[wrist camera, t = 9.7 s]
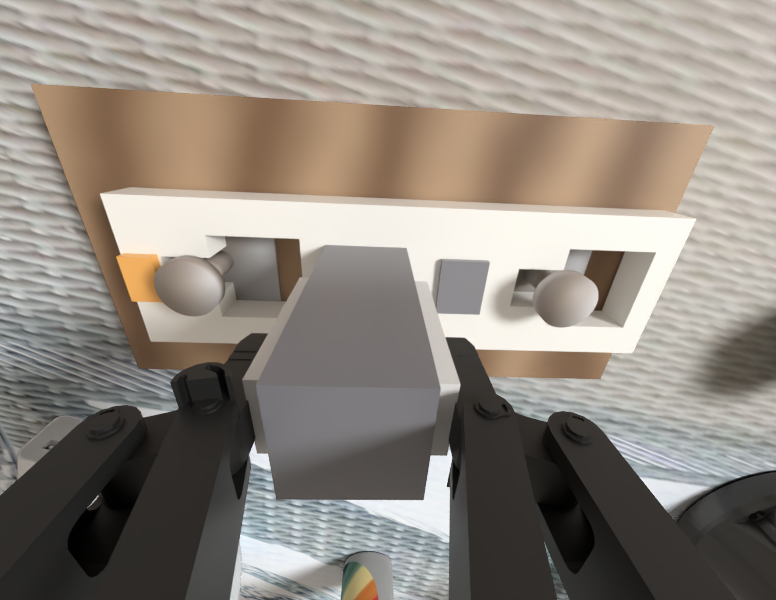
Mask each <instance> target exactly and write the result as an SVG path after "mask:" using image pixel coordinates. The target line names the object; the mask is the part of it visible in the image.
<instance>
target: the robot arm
mask: <svg viewBox="0 0 776 600" xmlns="http://www.w3.org/2000/svg"><path fill="white" fill-rule="evenodd" d="M308 279H309V278H304V277H300V278H299V280H298V282H297V283H296V285H295V287H294V289H293V290H292V292H291V294H290V296H289V298H288V299H287V301H286V303H285V305H284V306H283V308H282V310H281V312H280V314H279V315H278V317H277V319H276V321H275V322H274V324H273V326H272V328H271V330H270V331H269V333H251V334H249V335H248V336H246V337H245V338H244V339H242V340H241V341H240V342H239V343H238V345H237V346H236V348H235V349H234V351H233V353H231V355H230V356H229V358H228V361H226V362H225V364H222V363H219V362H206V363H201V364H196V365H194V366H191V367H189V368H186V369H184V370H183V371H181V372H180V373H178V374H177V375H176V376H175V377H174V378H173V379H172V381H171V382H170V383H171V386H172V389H173V392H174V395H175V398H176V401H177V404H178V407H179V409H178V410H175V411H172V412H168V413H163V414H159V415H154V416H149V417H144V418H143V417H142V414H141V412H140V411H139V410H138V409H137V408H136V407H133V406H129V405H123V406H114V407H111V408H108V409H104V410H101V411H99V412H97V413H95V414H93V415H91V416H89V417H88V418H86V419H85V420H84V421H82V422H81V423H80V424H78V425H77V426H76V427H75V428H74V429H73V430H72V431H70V432H69V433H68V434H67V435H66V436H65V437H64V438H63V439H62V440H61V441H59V442H58V443H57V444H56V445H55V446H54V447H53V448H52V449H51V450H50V451H49V452H47V453H46V454H45V455H44V456H43V457H42V458H41V459H40V460H39V461H38V462H37V463H35V464H34V465H33V466H32V467H31V468H30V469H29V470H28V471H27V472H26V473H24V474H23V475H22V476H21V477H20V478H19V479H18V480H17V481H16V482H15V483H14V484H12V485H11V486H10V487H9V488H8V489H7V490H6V491H5V492H4V493H3V494H2V495H0V600H230V595H231V589H232V583H233V576H234V570H235V564H236V558H237V551H238V545H239V539H240V533H241V526H242V520H243V514H244V508H245V501H246V495H247V489H248V483H249V476H250V470H251V463H250V457H249V453H250V451H251V448H252V446H253V443H254V441H255V445H256V450H257V453H268V450H267V444H266V439H265V433H264V428H263V422H262V417H261V411H260V406H259V400H258V395H257V389H256V384H257V382H258V380H259V378H260V376H261V374H262V372H263V370H264V368H265V366H266V364H267V362H268V360H269V358H270V356H271V354H272V352H273V350H274V348H275V346H276V344H277V342H278V340H279V338H280V336H281V333H282V331H283V329H284V327H285V325H286V323H287V321H288V319H289V317H290V315H291V313H292V311H293V309H294V307H295V305H296V303H297V301H298V299H299V297H300V295H301V293H302V291H303V289H304V287H305V285H306V283H307V281H308ZM415 285H416V289H417V293H418V297H419V301H420V305H421V309H422V313H423V317H424V322H425V326H426V330H427V334H428V338H429V342H430V346H431V350H432V354H433V359H434V363H435V367H436V371H437V375H438V379H439V383H440V387H441V391H440V397H439V404H438V410H437V417H436V423H435V429H434V436H433V442H432V448H431V455H447V452H448V447H449V444H450V449H451V453H452V463H451V468H450V473H449V478H448V483H447V487H450V542H449V600H557V597H556V593H555V588H554V584H553V579H552V575H551V571H550V566H549V562H548V557H547V553H546V548H545V544H546V547H547V549H548V551H549V554H550V556H551V558H552V560H553V563H554V565H555V567H556V570H557V572H558V574H559V576H560V579H561V581H562V583H563V586H564V588H565V590H566V592H567V595H568V597H569V599H570V600H776V472H773V473H767V474H762V475H757V476H753V477H749V478H746V479H743V480H740V481H737V482H734V483H732V484H729V485H727V486H725V487H722V488H720V489H718V490H716V491H714V492H712V493H711V494H709V495H707V496H705V497H704V498H702V499H701V500H699V501H698V502H697V503H695V504H694V505H693V506H692V507H690V508H689V509H688V510H687V511H686V512H685V513H684V514H683V516H682V517H681V518H680V520H679V521H678V523H677V524H676V523H675V521H674V520H673V519H672V518H671V516H670V515H669V514H668V513H667V511H666V510H665V509H664V508H663V506H662V505H661V504H660V503H659V501H658V500H657V499H656V498H655V496H654V495H653V494H652V493H651V491H650V490H649V489H648V488H647V486H646V485H645V484H644V483H643V481H642V480H641V479H640V478H639V476H638V475H637V474H636V473H635V471H634V470H633V469H632V468H631V466H630V465H629V464H628V463H627V461H626V460H625V459H624V458H623V456H622V455H621V454H620V453H619V451H618V450H617V449H616V447H615V446H614V445H613V444H612V442H611V441H610V440H609V439H608V437H607V436H606V435H605V434H604V432H603V431H602V430H601V429H600V428H599V427H598V426H597V425H596V424H595V423H593V422H592V421H590V420H588V419H587V418H585V417H583V416H581V415H578V414H575V413H572V412H565V411H561V412H556V413H553V414H552V415H551V416H550V417H549V419H548V422H544V421H540V420H536V419H533V418H529V417H525V416H523V415H520V414H517V413H515V412H514V410H513V408H512V406H511V405H510V404H509V403H508V402H507V401H506V400H505V399H504V398H502V397H500V396H498V395H497V394H496V393H495V391H494V389H493V386H492V384H491V382H490V380H489V378H488V375H487V373H486V371H485V369H484V366H483V365H482V362H481V360H480V358H479V355H478V353H477V351H476V349H475V346H474V345H473V344H472V343H470V342H469V341H468V340H467V339H466V338H461V337H445V335H444V332H443V329H442V326H441V323H440V320H439V317H438V313H437V310H436V307H435V304H434V301H433V298H432V295H431V292H430V289H429V286H428V283H427V282H424V281H415ZM97 495H98V496H99V497H98V498H97V500H96V501H95V502H94V503H93V504H92V505H91V506H90V507H89V508H88V506H89V505H90V504H91V503H92V502H93V500H94V499H95V498H96V497H97ZM544 542H545V544H544Z"/></svg>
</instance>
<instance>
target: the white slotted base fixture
mask: <svg viewBox="0 0 776 600" xmlns="http://www.w3.org/2000/svg"><path fill="white" fill-rule="evenodd" d="M100 196H101V199H102V201H103V204H104V207H105V210H106V213H107V216H108V219H109V222H110V225H111V228H112V230H113V233H114V236H115V239H116V242H117V245H118V248H119V251H120V254H121V255H118V256H116V258H117V261H118V264H119V266H120V269H121V272H122V275H123V278H124V281H125V283H126V286H127V289H128V292H129V295H130V298H131V300H132V301H134V302H137V303H138V306H139V309H140V312H141V315H142V317H143V320H144V323H145V326H146V329H147V332H148V335H149V338H150V341H151V342H190V343H231V344H238V343H239V342H240V341H241V340H242V339H244V338H245V337H246V336H248V335H249V334H251V333H269V331H270V330H271V328H272V326H273V324H274V322H275V321H276V319H277V317H278V315H279V314H280V312H281V310H282V308H283V306H284V305H285V303H286V301H254V300H237V299H236V294H235V288H234V283H233V282H225V295H224V297H223V299H222V300H221V301H220V303H219V304H218V305H217V306H216V307H215V308H214V309H213V310H212V311H211V312H209V313H208V314H205V315H202V316H194V317H193V316H186V315H182V314H179V313H177V312H175V311H173V310H172V309H170V308H169V307H167V306H166V305H165V304H164V303H163V302H162V301H161V300H160V298H159V297H158V295H157V293H156V291H155V287H154V276H155V273H156V271H157V270H158V269H159V268H160V267H161V266H162V265H164V264H165V263H167V262H169V261H170V260H172V259H174V258H176V257H178V256H183V255H193V256H197V257H200V258H210V257H212V256H213V255H215V254H216V253H217V252H219V251H220V250H221V249H223V248H224V247H226V240H225V236H235V237H261V238H288V239H299V241H300V254H301V266H302V277H304V278H309V279H308V281H307V283H306V285H305V287H304V289H303V291H302V293H301V295H300V297H299V299H298V301H297V303H296V305H295V307H294V309H293V311H292V313H291V315H290V317H289V319H288V321H287V323H286V325H285V327H284V329H283V331H282V333H281V336H280V338H279V340H278V342H277V344H276V346H275V348H274V350H273V352H272V354H271V356H270V358H269V360H268V362H267V364H266V366H265V368H264V370H263V372H262V374H261V376H260V378H259V380H258V382H257V384H256V389H257V395H258V400H259V406H260V411H261V417H262V422H263V428H264V433H265V439H266V444H267V450H268V455H269V461H270V466H271V472H272V478H273V483H274V489H275V494H276V499H321V500H423V499H424V493H425V487H426V480H427V474H428V468H429V461H430V455H431V448H432V442H433V436H434V429H435V423H436V417H437V410H438V404H439V397H440V391H441V387H440V383H439V379H438V375H437V371H436V367H435V363H434V359H433V354H432V350H431V346H430V342H429V338H428V334H427V330H426V326H425V322H424V317H423V313H422V309H421V305H420V301H419V297H418V293H417V289H416V285H415V281H424V282H427V283H428V286H429V289H430V292H431V295H432V298H433V301H434V304H435V307H436V310H437V313H438V317H439V320H440V323H441V326H442V329H443V332H444V335H445V337H461V338H466V339H467V340H468V341H469V342H470V343H472V344H473V345H474V346H475V349H481V350H522V351H564V352H605V353H633V351H634V349H635V347H636V344H637V342H638V340H639V338H640V336H641V334H642V332H643V330H644V328H645V326H646V323H647V321H648V319H649V317H650V315H651V313H652V311H653V309H654V307H655V305H656V302H657V300H658V298H659V296H660V294H661V292H662V290H663V288H664V286H665V284H666V281H667V279H668V277H669V275H670V273H671V271H672V269H673V267H674V265H675V263H676V261H677V258H678V256H679V254H680V252H681V250H682V248H683V246H684V244H685V242H686V240H687V237H688V235H689V233H690V231H691V229H692V227H693V225H694V223H695V221H696V219H695V218H691V217H687V216H683V215H679V214H676V213H672V212H668V211H664V210H642V209H619V208H596V207H573V206H550V205H527V204H504V203H481V202H458V201H435V200H412V199H389V198H366V197H343V196H320V195H297V194H274V193H251V192H228V191H206V190H183V189H160V188H137V187H129V188H124V189H119V190H114V191H110V192H105V193H100ZM570 249H579V250H605V251H625V253H624V256H623V258H622V261H621V263H620V266H619V268H618V271H617V273H616V276H615V278H614V281H613V283H612V286H611V288H610V291H609V293H608V296H607V299H606V301H605V304H604V306H603V309H602V311H592V313H591V314H590V315H589V316H588V317H587V318H586V319H584V320H583V321H581V322H580V323H578V324H576V325H573V326H570V327H564V328H559V327H553V326H551V325H549V324H547V323H546V322H545V321H544V320H543V319H542V318H541V317H540V316H539V315H538V314H537V312H536V311H535V309H534V307H533V302H532V300H533V294H534V292H519V291H514V288H515V284H516V280H517V276H518V272H519V269H536V270H564V267H565V264H566V261H567V258H568V255H569V251H570Z"/></svg>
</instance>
